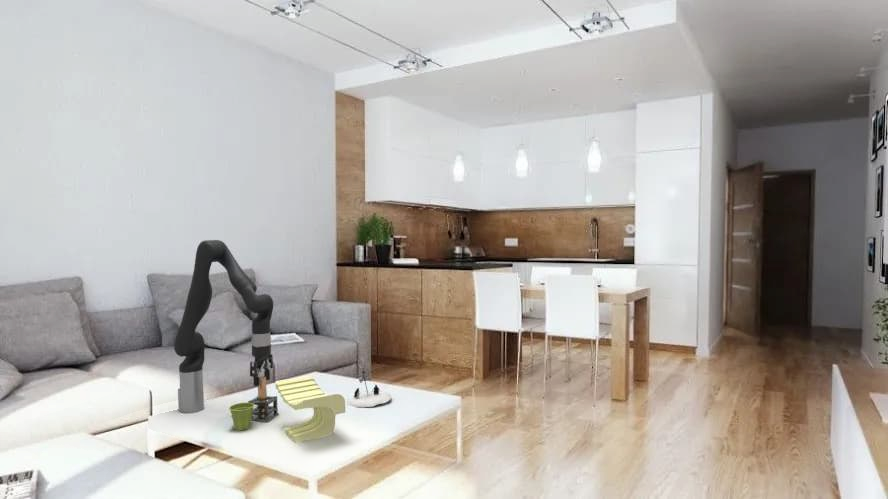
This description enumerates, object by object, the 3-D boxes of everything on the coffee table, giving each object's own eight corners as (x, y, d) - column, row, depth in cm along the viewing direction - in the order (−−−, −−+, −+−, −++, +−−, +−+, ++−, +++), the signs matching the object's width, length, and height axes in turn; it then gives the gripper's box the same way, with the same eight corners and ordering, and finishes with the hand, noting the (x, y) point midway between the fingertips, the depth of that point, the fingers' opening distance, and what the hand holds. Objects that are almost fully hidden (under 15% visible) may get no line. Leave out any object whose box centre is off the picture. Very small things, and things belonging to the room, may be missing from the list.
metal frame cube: (247, 421, 234) (246, 401, 234) (258, 413, 243) (258, 395, 243) (268, 422, 233) (267, 402, 232) (278, 415, 241) (278, 396, 241)
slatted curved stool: (346, 440, 213) (344, 392, 212) (304, 450, 204) (302, 400, 203) (315, 417, 238) (314, 374, 237) (276, 425, 229) (275, 381, 228)
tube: (257, 416, 237) (255, 378, 236) (261, 414, 240) (259, 375, 239) (265, 417, 236) (263, 378, 235) (269, 414, 239) (267, 376, 238)
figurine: (395, 393, 266) (390, 358, 265) (387, 407, 248) (382, 369, 247) (352, 396, 268) (348, 362, 268) (341, 410, 250) (337, 373, 249)
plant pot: (240, 434, 221) (239, 411, 220) (224, 429, 226) (223, 407, 225) (260, 426, 228) (259, 404, 228) (244, 422, 233) (243, 401, 233)
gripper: (261, 339, 244) (262, 377, 245) (243, 347, 230) (244, 387, 231) (278, 340, 242) (278, 378, 243) (260, 348, 229) (261, 388, 229)
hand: (262, 382), depth 237 cm, fingers open, 8 cm apart
